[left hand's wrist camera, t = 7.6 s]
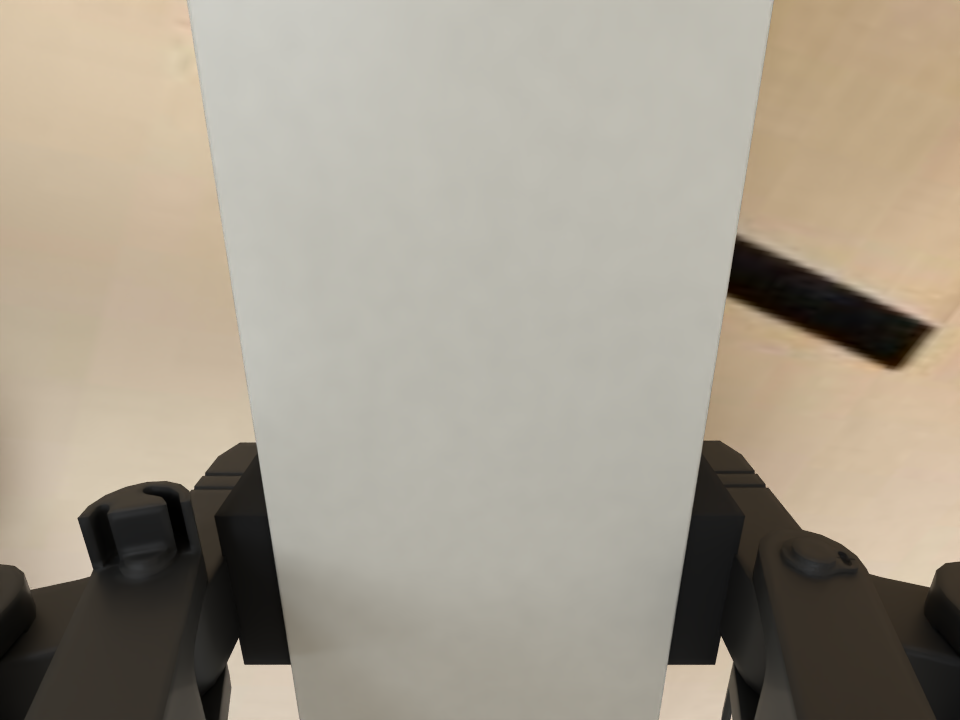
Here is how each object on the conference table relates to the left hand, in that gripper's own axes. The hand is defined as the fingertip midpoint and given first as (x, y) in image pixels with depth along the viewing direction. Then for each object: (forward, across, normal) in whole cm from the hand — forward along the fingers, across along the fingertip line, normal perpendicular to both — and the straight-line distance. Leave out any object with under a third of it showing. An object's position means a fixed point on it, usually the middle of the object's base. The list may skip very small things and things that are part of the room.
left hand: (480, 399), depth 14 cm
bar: (+1, 0, -23) cm, 23 cm away
